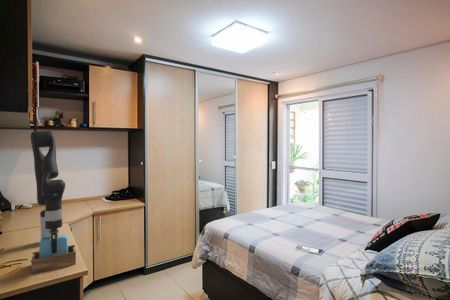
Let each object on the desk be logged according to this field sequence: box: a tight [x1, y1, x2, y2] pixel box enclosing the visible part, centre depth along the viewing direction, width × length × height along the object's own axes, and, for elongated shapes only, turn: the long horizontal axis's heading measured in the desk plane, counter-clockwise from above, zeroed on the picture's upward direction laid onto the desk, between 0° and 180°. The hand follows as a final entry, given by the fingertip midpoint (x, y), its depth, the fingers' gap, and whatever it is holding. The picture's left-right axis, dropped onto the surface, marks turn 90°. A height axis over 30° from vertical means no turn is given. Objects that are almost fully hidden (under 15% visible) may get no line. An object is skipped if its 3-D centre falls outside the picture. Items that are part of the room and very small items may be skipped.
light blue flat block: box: [38, 234, 69, 258], centre depth 137 cm, size 12×4×12 cm, turn 115°
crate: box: [30, 244, 77, 274], centre depth 137 cm, size 12×19×6 cm, turn 122°
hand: (54, 250), depth 137 cm, fingers closed on light blue flat block, 5 cm apart
